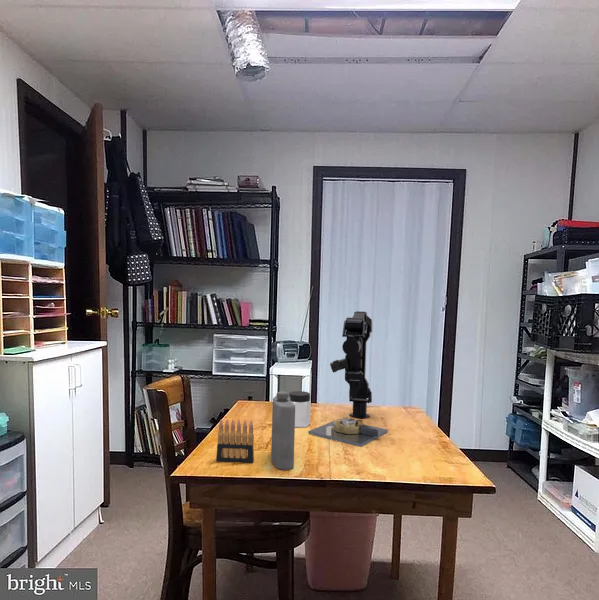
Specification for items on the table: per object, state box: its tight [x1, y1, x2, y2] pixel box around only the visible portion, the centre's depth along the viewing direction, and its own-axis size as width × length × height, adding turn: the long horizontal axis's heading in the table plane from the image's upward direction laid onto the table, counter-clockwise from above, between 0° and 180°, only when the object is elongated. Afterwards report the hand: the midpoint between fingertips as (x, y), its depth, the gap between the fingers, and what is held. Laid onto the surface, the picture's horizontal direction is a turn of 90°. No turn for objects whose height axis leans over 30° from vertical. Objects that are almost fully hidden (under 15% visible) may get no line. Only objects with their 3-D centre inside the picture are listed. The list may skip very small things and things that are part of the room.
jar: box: [288, 390, 312, 428], centre depth 164 cm, size 9×8×12 cm
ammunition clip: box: [215, 419, 255, 464], centre depth 124 cm, size 11×2×12 cm, turn 88°
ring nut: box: [333, 416, 381, 438], centre depth 153 cm, size 17×10×3 cm, turn 55°
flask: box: [270, 390, 296, 471], centre depth 126 cm, size 15×6×20 cm, turn 9°
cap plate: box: [307, 417, 389, 448], centre depth 155 cm, size 21×21×5 cm
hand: (353, 395), depth 155 cm, fingers open, 9 cm apart
